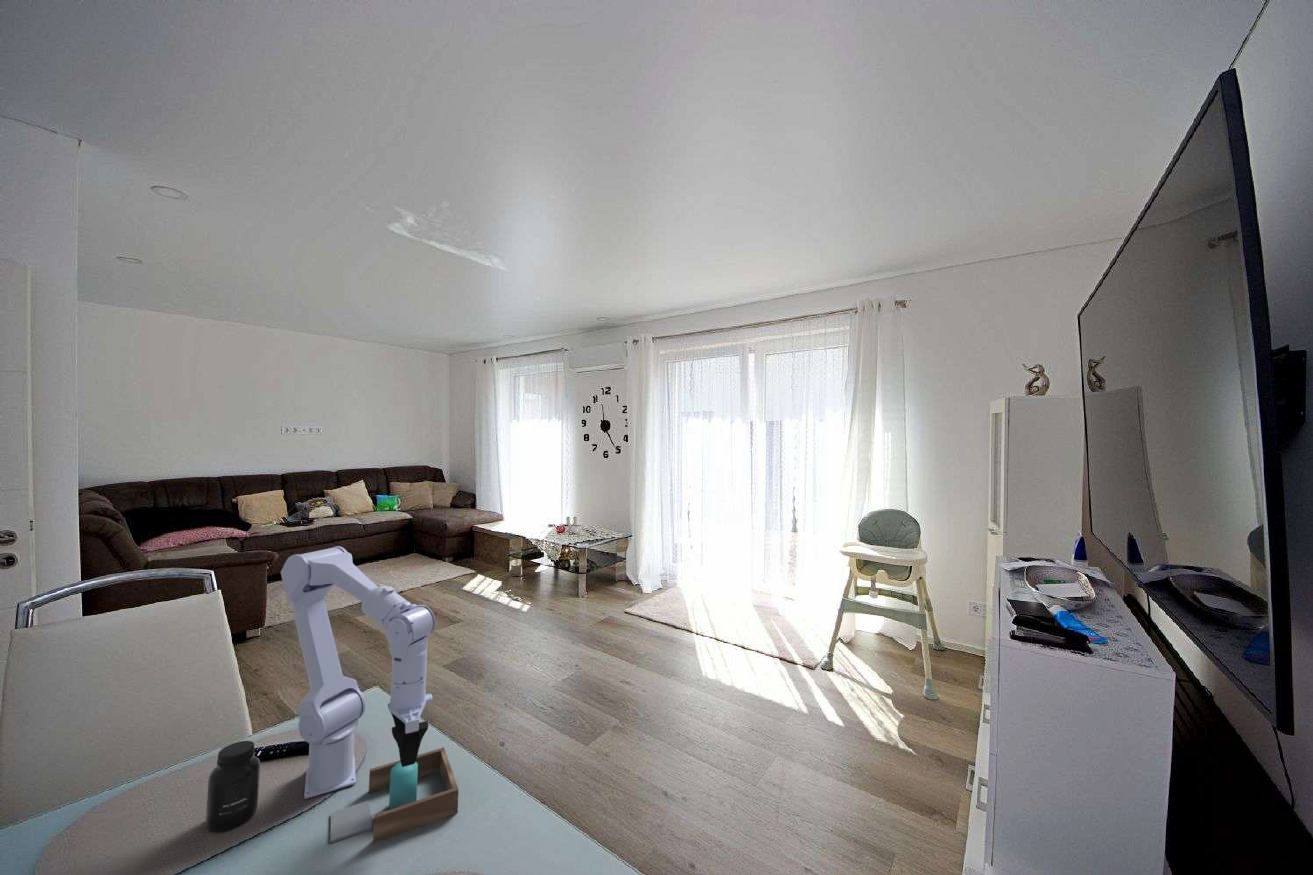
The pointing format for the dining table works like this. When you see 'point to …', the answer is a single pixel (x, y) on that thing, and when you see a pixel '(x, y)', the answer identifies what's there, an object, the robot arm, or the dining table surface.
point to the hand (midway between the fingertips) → (406, 752)
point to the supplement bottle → (233, 788)
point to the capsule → (403, 785)
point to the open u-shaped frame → (420, 809)
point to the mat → (350, 821)
